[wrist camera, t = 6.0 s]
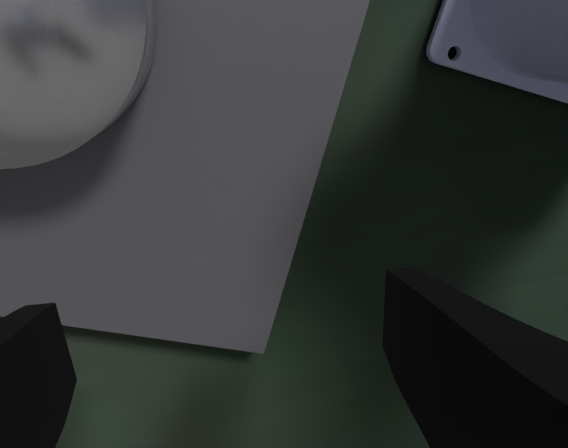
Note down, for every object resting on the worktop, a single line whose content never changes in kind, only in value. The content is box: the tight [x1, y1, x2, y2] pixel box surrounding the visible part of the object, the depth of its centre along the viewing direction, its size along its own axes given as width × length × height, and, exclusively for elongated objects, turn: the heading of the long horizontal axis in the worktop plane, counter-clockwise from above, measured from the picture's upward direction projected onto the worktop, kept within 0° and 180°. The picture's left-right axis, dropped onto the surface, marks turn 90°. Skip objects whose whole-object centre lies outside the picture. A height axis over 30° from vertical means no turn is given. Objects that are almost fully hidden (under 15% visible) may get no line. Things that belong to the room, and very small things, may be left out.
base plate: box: [0, 0, 370, 354], centre depth 14 cm, size 22×23×2 cm
